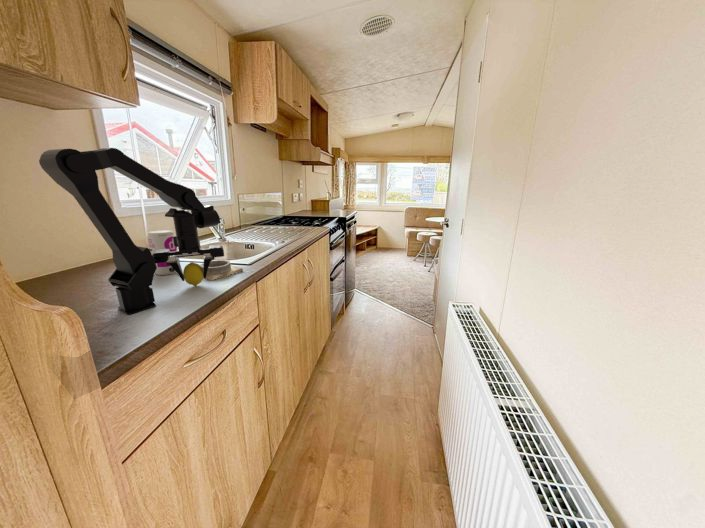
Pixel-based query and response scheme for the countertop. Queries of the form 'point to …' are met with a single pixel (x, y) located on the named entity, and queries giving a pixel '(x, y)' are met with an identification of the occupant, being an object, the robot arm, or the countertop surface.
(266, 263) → the countertop surface
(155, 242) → the supplement can
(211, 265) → the carrier board
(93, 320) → the countertop surface
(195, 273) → the lemon
